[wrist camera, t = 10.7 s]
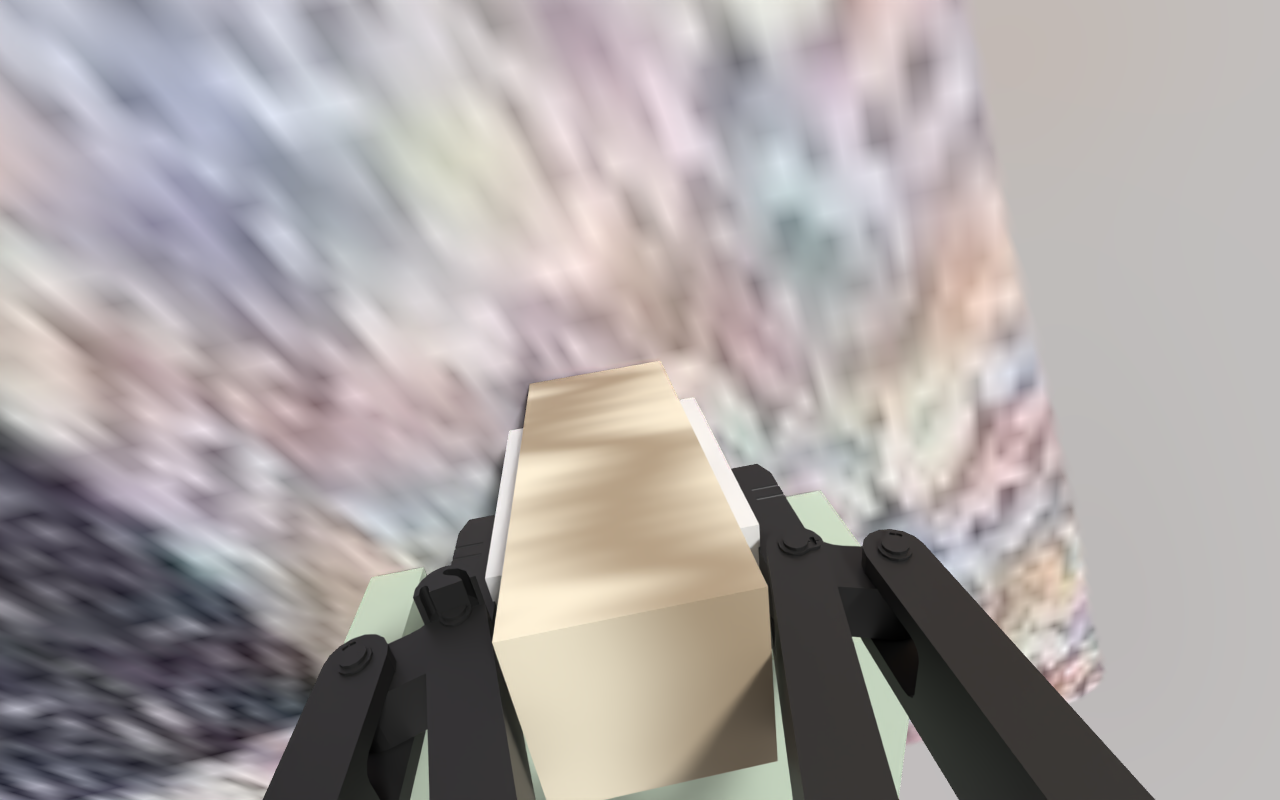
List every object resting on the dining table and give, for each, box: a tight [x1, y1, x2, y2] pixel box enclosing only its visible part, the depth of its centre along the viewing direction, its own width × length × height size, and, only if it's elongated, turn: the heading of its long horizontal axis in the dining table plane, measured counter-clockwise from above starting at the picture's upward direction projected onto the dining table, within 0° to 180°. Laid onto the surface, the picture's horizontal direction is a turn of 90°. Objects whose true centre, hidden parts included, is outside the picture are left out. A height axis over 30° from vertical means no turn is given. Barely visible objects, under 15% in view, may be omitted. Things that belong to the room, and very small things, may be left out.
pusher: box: [492, 361, 778, 800], centre depth 18 cm, size 4×18×11 cm, turn 8°
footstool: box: [344, 491, 909, 800], centre depth 21 cm, size 18×10×7 cm, turn 98°
